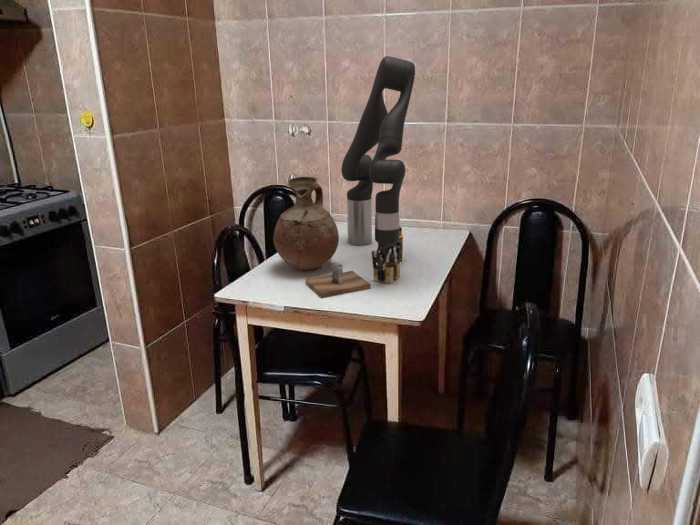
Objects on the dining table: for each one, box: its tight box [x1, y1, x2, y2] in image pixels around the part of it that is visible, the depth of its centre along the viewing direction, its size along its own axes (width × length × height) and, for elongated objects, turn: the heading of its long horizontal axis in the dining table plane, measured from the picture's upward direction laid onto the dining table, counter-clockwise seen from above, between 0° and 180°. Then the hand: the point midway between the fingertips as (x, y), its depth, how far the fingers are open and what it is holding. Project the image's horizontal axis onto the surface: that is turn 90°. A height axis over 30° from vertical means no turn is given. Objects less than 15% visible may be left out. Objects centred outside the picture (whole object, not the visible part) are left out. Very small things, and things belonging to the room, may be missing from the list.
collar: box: [373, 261, 401, 285], centre depth 167 cm, size 6×6×5 cm
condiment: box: [381, 225, 408, 264], centre depth 183 cm, size 7×8×12 cm
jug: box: [272, 175, 340, 273], centre depth 175 cm, size 22×22×30 cm
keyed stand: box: [305, 263, 372, 299], centre depth 162 cm, size 13×16×6 cm
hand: (386, 277), depth 167 cm, fingers closed on collar, 6 cm apart
